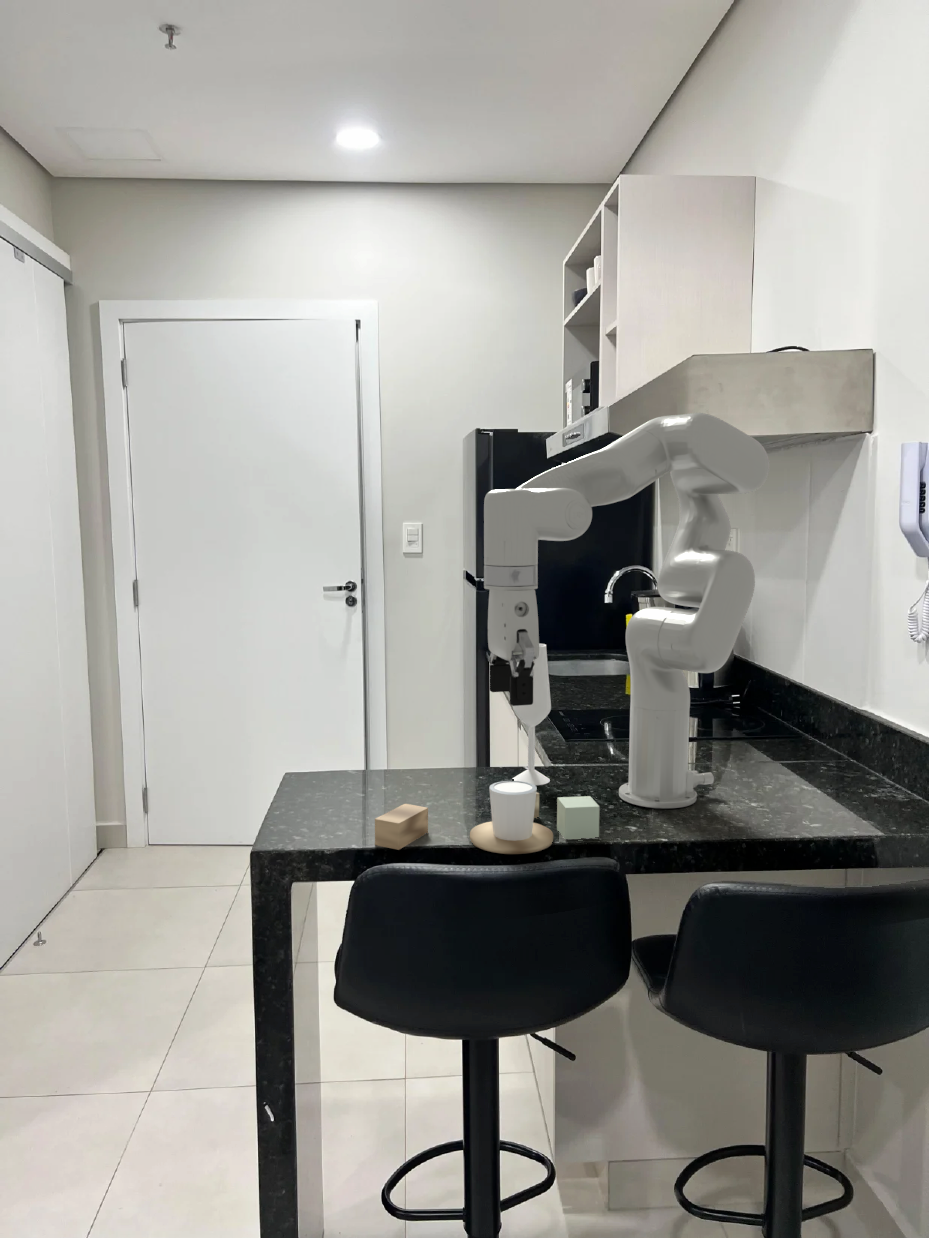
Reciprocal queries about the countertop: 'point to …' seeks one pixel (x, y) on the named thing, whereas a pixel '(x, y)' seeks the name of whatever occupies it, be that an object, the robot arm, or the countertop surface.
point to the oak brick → (401, 826)
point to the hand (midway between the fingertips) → (510, 697)
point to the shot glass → (512, 809)
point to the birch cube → (536, 806)
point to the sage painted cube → (577, 817)
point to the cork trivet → (487, 841)
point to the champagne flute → (535, 715)
